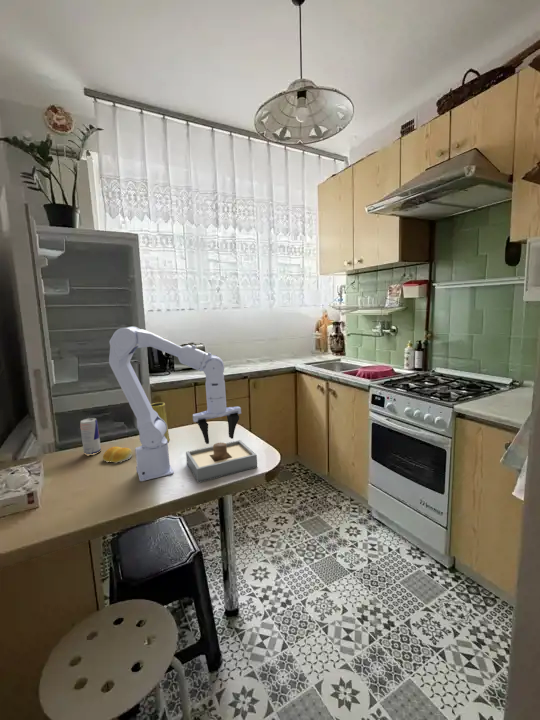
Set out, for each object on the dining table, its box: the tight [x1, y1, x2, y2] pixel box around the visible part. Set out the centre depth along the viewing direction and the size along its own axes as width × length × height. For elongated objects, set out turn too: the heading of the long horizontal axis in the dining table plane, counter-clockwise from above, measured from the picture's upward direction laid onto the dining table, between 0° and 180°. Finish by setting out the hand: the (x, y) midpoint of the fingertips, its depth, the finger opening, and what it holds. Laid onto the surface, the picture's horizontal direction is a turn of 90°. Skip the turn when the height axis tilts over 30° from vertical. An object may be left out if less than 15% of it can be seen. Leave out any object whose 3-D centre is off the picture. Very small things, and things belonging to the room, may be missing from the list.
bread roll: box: [102, 446, 133, 463], centre depth 119 cm, size 8×9×4 cm
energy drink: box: [79, 417, 102, 454], centre depth 124 cm, size 5×5×12 cm
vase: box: [150, 401, 171, 442], centre depth 132 cm, size 6×6×14 cm
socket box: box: [185, 439, 258, 483], centre depth 109 cm, size 18×14×4 cm
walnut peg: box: [212, 442, 227, 462], centre depth 109 cm, size 4×4×6 cm
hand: (219, 440), depth 108 cm, fingers open, 7 cm apart
